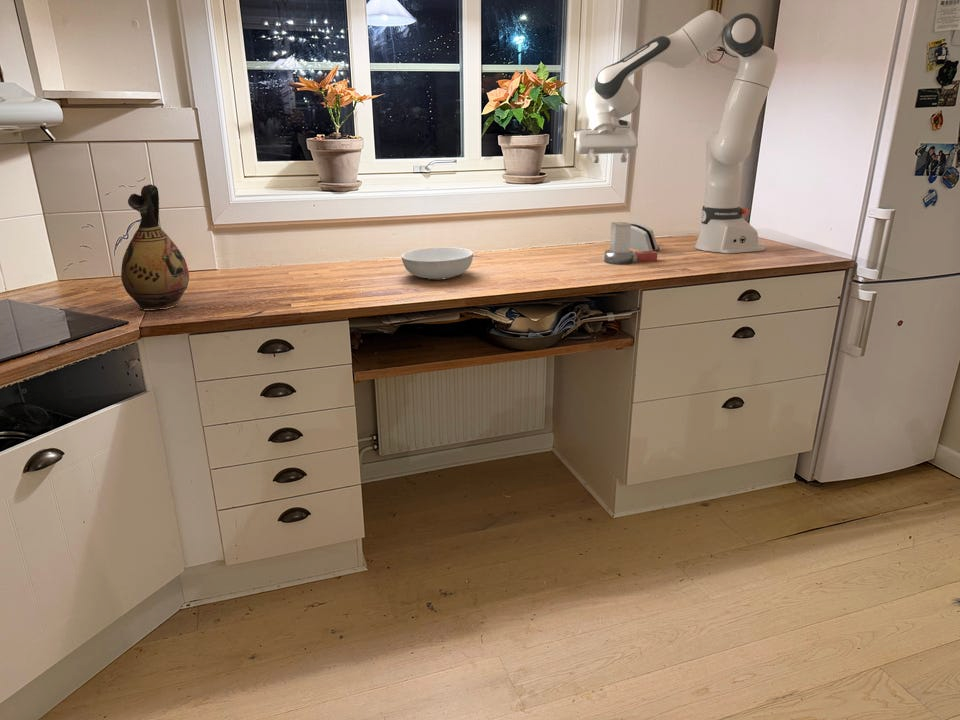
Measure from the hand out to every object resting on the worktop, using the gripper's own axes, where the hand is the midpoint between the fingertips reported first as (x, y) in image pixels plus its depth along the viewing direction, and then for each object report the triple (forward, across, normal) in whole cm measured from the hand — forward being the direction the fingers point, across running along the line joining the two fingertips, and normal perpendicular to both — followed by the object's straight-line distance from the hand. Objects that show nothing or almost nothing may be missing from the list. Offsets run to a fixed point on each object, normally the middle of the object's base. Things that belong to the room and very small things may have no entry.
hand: (610, 161), depth 222 cm
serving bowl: (+40, -59, +2) cm, 71 cm away
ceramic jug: (+55, -131, -12) cm, 142 cm away
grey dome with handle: (+33, +3, +8) cm, 34 cm away
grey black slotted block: (+20, +11, +23) cm, 32 cm away
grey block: (+31, -1, +6) cm, 32 cm away
